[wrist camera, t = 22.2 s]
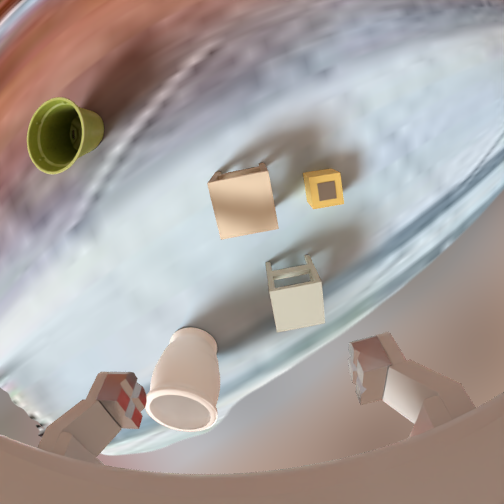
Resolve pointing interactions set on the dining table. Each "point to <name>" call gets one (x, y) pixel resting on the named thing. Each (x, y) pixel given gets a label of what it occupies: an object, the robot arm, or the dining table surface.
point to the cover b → (296, 297)
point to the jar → (186, 382)
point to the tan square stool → (243, 202)
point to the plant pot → (62, 134)
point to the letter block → (323, 188)
